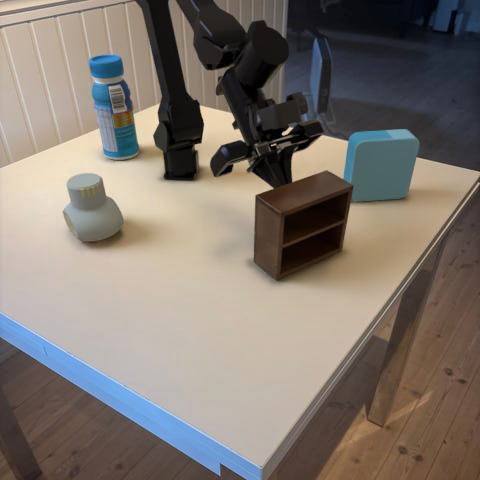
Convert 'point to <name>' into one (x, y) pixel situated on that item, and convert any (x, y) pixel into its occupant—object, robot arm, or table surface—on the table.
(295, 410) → the table surface
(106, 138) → the beverage bottle
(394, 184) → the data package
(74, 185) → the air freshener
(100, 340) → the table surface
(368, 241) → the table surface
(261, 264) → the shelf
